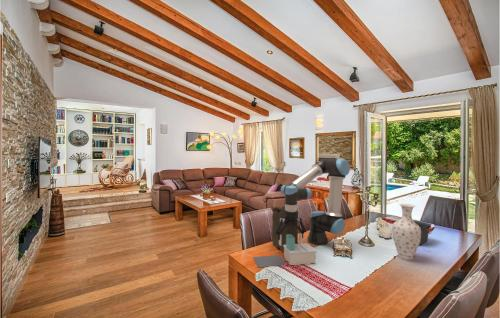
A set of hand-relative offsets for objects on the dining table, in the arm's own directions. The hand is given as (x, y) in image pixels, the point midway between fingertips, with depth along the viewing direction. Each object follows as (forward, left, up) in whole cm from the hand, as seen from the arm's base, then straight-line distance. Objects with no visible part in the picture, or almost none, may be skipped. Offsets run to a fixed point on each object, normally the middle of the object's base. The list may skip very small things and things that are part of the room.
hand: (290, 244), depth 153 cm
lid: (-6, 0, -4) cm, 7 cm away
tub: (-6, 0, -11) cm, 12 cm away
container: (-3, -20, -11) cm, 23 cm away
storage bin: (-109, -12, -11) cm, 110 cm away
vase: (-77, +9, -11) cm, 78 cm away
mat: (+13, -2, -11) cm, 17 cm away
